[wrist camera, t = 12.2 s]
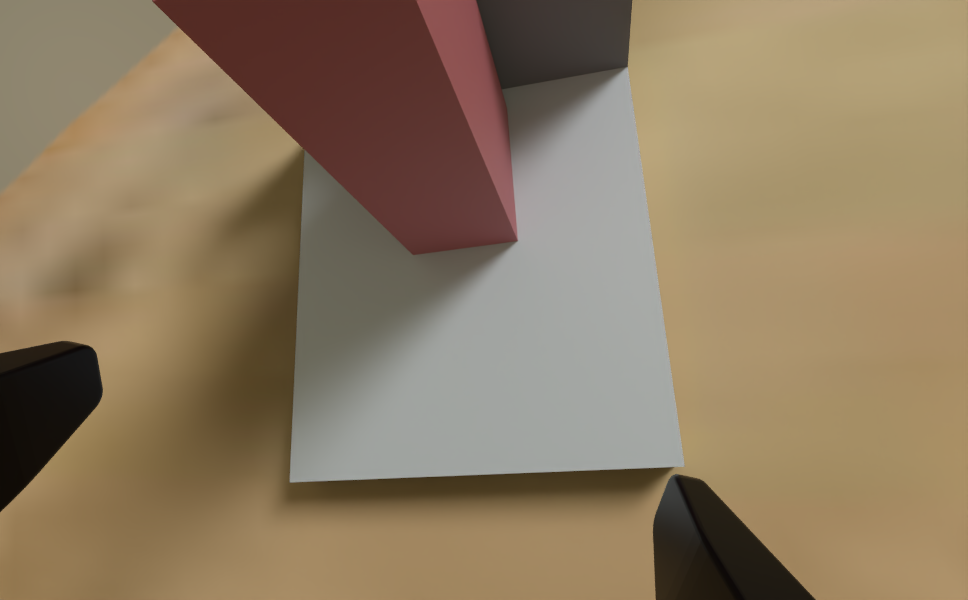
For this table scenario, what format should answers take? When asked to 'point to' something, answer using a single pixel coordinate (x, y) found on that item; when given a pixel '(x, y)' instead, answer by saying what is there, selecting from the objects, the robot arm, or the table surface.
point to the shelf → (498, 291)
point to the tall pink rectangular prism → (379, 104)
